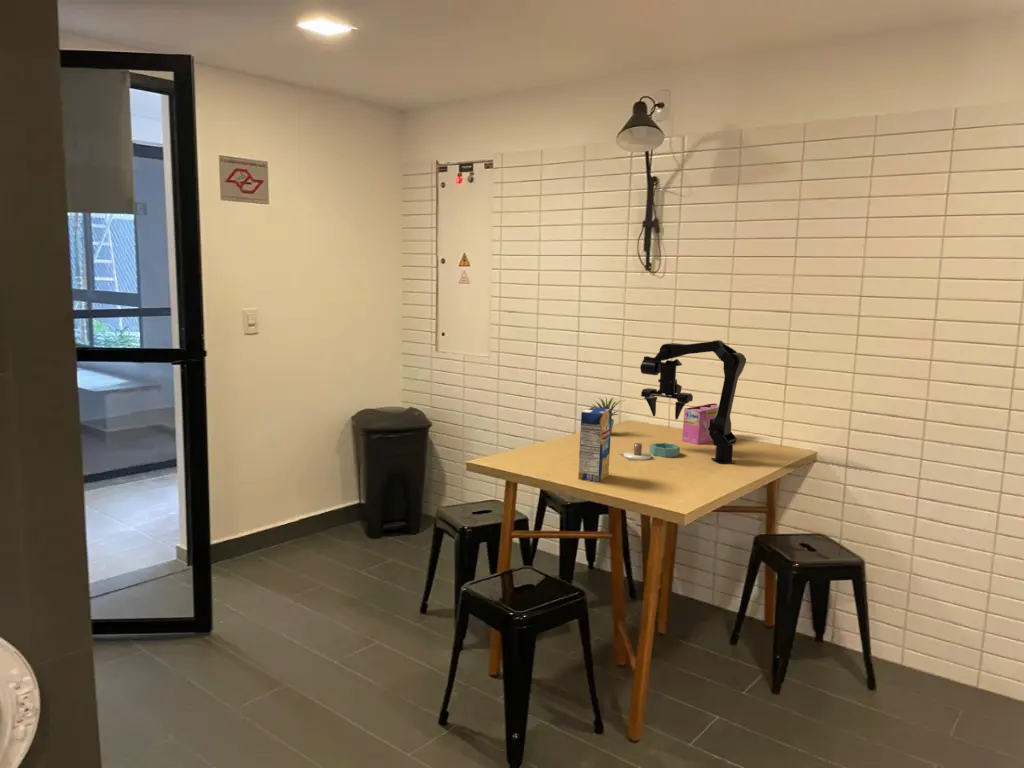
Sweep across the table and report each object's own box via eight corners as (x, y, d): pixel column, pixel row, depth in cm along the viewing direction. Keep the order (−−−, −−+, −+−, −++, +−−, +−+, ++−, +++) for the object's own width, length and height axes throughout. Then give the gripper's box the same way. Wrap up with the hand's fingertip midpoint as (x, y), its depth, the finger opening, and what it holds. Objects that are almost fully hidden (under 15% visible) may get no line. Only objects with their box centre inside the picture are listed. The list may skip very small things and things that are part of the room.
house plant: (620, 431, 324) (623, 393, 321) (627, 438, 310) (630, 398, 308) (587, 430, 323) (589, 392, 320) (593, 437, 309) (595, 397, 307)
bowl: (682, 458, 278) (683, 448, 278) (657, 459, 276) (658, 449, 275) (670, 451, 288) (671, 442, 287) (646, 452, 285) (646, 443, 285)
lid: (655, 459, 272) (656, 446, 272) (629, 460, 270) (630, 447, 269) (644, 453, 282) (645, 440, 281) (619, 453, 280) (619, 441, 279)
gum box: (712, 434, 325) (715, 402, 323) (729, 437, 319) (731, 405, 317) (681, 441, 308) (683, 408, 306) (698, 444, 302) (700, 411, 300)
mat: (655, 461, 272) (655, 459, 272) (629, 461, 270) (629, 460, 270) (644, 454, 282) (644, 453, 282) (619, 455, 280) (619, 453, 279)
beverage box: (578, 479, 244) (581, 411, 241) (588, 471, 254) (592, 406, 251) (598, 482, 242) (602, 414, 238) (608, 474, 252) (612, 409, 248)
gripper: (700, 377, 286) (697, 418, 288) (655, 372, 297) (652, 411, 300) (687, 380, 277) (684, 422, 280) (641, 374, 288) (639, 415, 291)
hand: (665, 417), depth 288 cm, fingers open, 9 cm apart
